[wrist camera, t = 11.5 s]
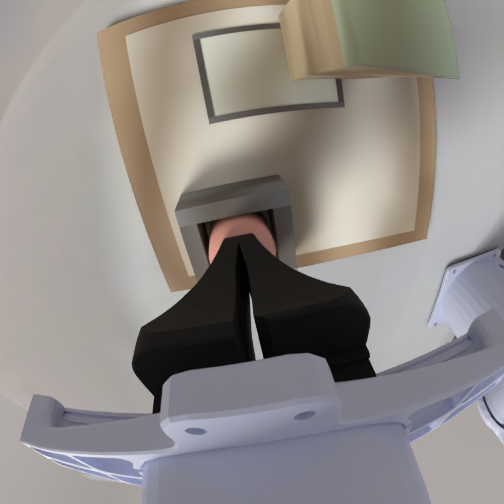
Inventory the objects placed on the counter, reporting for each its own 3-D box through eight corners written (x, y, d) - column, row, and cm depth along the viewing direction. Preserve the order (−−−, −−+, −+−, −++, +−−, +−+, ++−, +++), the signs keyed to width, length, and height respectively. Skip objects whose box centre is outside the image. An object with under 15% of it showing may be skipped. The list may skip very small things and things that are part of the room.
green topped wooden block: (347, 17, 9) (436, -20, 3) (358, 78, 11) (459, 79, 5) (278, 15, 9) (332, -51, 3) (290, 80, 11) (362, 63, 5)
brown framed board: (414, 12, 9) (445, 5, 6) (422, 234, 17) (445, 256, 15) (101, 34, 9) (75, 23, 6) (172, 286, 17) (166, 318, 14)
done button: (262, 197, 14) (271, 218, 11) (270, 248, 15) (279, 275, 13) (204, 209, 14) (201, 232, 11) (217, 258, 15) (217, 287, 13)
